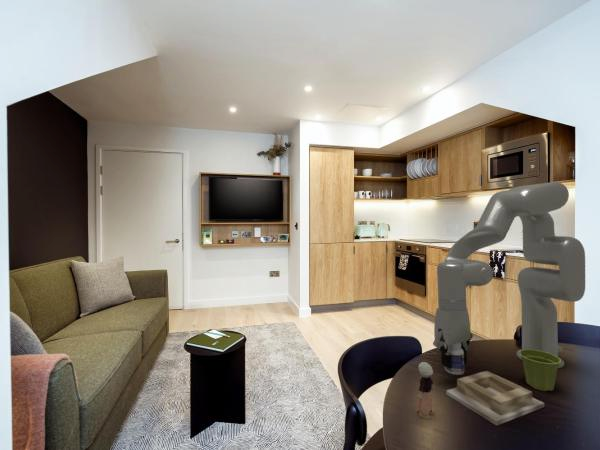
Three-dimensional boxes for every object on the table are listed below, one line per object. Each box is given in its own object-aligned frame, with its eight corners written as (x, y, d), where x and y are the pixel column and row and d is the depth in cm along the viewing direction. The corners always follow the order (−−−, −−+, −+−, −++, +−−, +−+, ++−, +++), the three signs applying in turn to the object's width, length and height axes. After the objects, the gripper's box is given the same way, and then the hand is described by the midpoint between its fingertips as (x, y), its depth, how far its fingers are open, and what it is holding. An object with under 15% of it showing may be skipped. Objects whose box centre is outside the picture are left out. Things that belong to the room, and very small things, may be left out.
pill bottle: (467, 375, 85) (466, 345, 85) (447, 374, 86) (446, 344, 86) (461, 366, 90) (460, 337, 90) (442, 365, 91) (441, 337, 91)
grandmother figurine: (420, 404, 77) (420, 355, 77) (436, 409, 75) (436, 359, 75) (413, 420, 71) (412, 367, 71) (430, 426, 69) (429, 371, 69)
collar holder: (490, 380, 88) (490, 367, 88) (544, 406, 76) (544, 391, 76) (446, 394, 82) (445, 379, 82) (496, 425, 69) (496, 408, 69)
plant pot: (561, 399, 79) (560, 366, 79) (517, 386, 85) (517, 356, 85) (562, 385, 86) (561, 355, 86) (521, 374, 92) (521, 346, 92)
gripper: (461, 297, 95) (463, 353, 95) (420, 304, 88) (422, 365, 89) (484, 302, 88) (486, 363, 88) (441, 311, 81) (443, 377, 82)
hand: (454, 363), depth 88 cm, fingers closed on pill bottle, 5 cm apart
